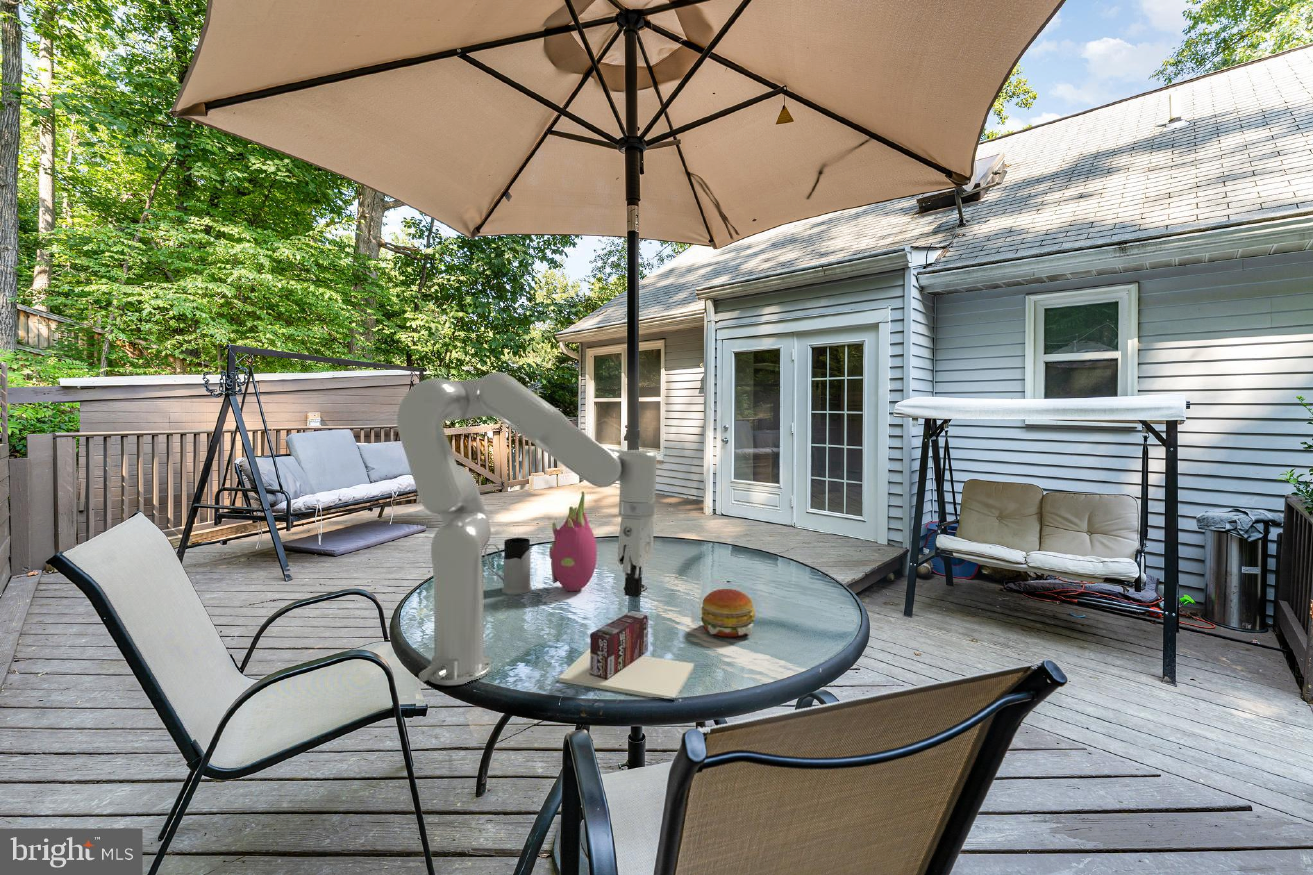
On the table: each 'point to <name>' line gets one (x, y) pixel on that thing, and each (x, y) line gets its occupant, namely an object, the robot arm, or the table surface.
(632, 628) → the supplement box
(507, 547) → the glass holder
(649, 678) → the placemat
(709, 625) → the burger
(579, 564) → the pink dragon fruit
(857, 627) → the table surface
